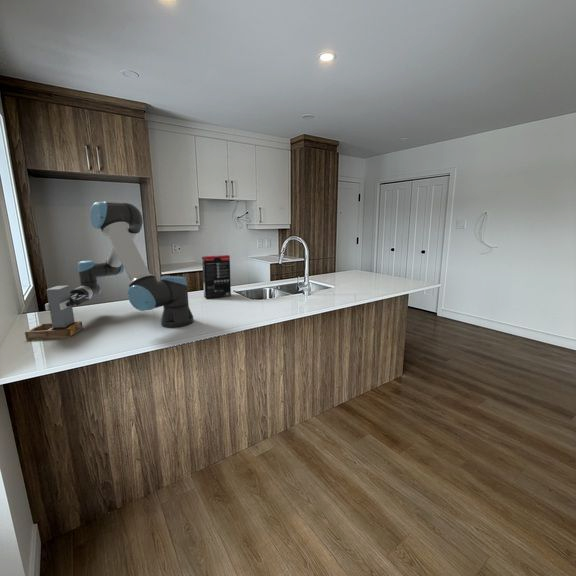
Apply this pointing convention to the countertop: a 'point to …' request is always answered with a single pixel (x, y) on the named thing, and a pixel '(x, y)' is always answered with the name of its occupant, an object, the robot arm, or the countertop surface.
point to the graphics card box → (216, 276)
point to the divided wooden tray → (53, 331)
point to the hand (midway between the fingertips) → (53, 307)
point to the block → (54, 299)
